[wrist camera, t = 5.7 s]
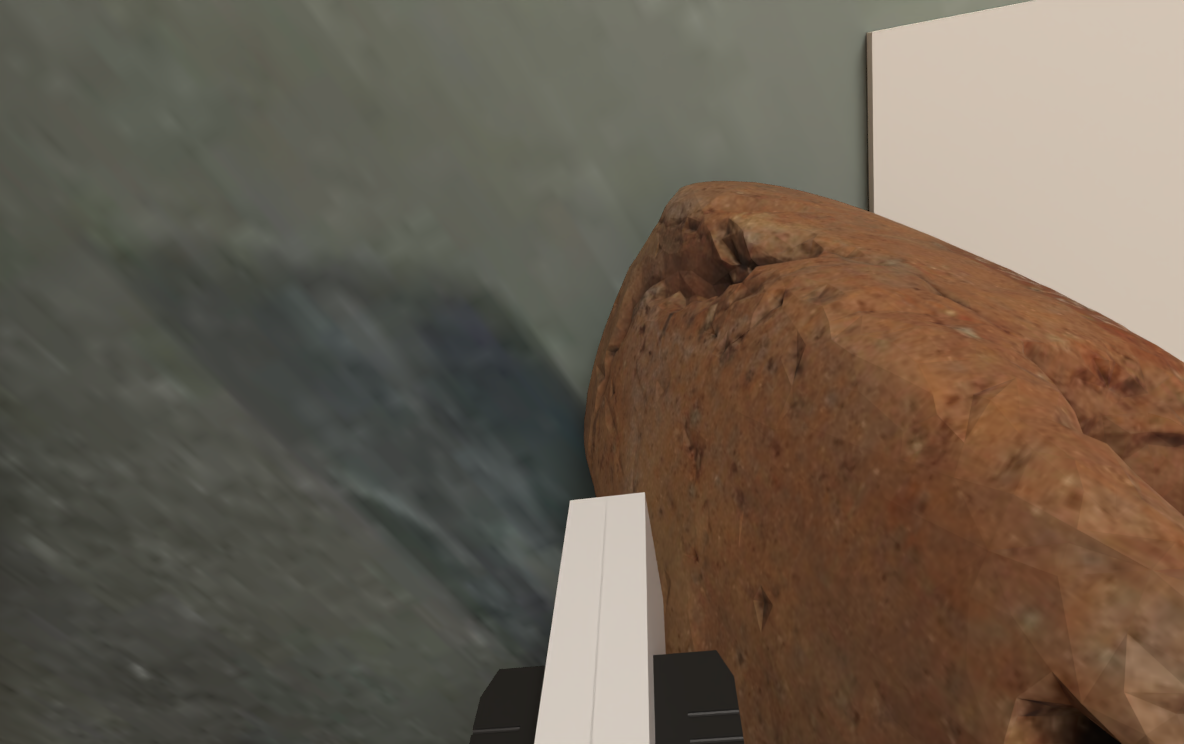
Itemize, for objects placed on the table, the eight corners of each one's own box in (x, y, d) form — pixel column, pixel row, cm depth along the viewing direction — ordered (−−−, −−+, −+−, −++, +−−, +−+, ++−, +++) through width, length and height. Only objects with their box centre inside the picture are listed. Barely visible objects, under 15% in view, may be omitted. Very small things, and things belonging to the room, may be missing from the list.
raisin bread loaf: (744, 473, 27) (1360, 1344, 9) (554, 455, 24) (883, 1554, 7) (853, 191, 22) (2402, 798, 5) (636, 138, 20) (2030, 899, 3)
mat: (872, 488, 27) (882, 505, 26) (866, 32, 20) (878, 32, 19) (1336, 434, 25) (1365, 451, 24) (1496, -89, 18) (1545, -97, 17)
